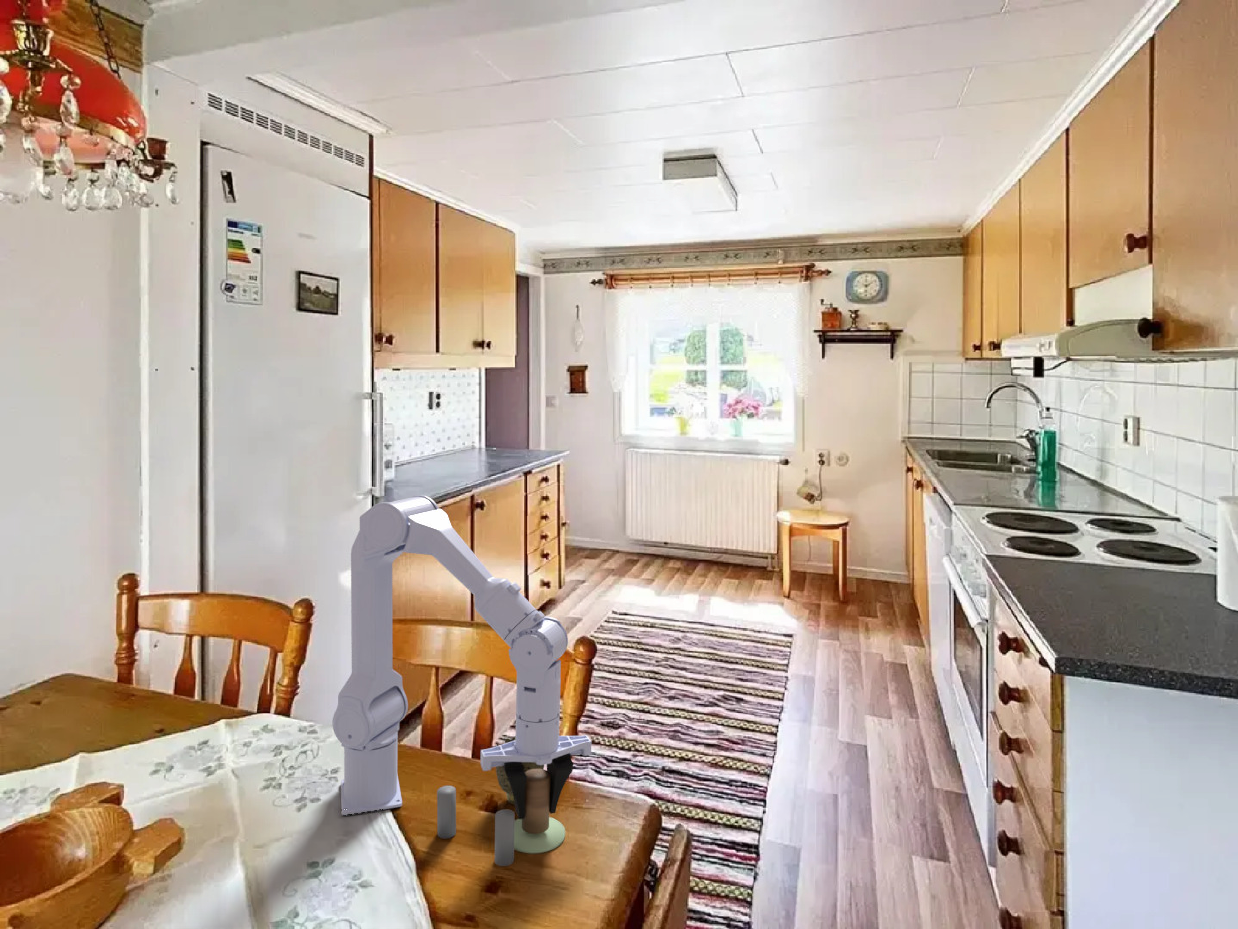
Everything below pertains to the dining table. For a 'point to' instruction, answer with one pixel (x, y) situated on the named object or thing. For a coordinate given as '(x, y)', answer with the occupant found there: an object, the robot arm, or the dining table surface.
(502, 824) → the post
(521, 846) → the coaster
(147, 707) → the dining table surface
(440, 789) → the post
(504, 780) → the cup
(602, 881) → the dining table surface
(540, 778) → the dowel
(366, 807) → the robot arm
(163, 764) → the dining table surface
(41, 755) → the dining table surface
